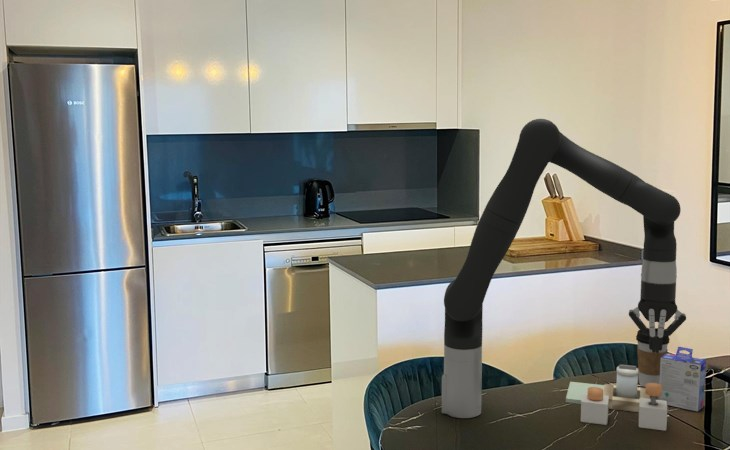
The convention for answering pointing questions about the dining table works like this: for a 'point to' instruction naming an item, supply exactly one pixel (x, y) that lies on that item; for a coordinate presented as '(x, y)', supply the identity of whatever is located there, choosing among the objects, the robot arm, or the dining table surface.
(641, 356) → the coffee cup
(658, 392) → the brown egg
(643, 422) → the plunger posts
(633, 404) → the collar
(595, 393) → the plunger left
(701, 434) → the dining table surface
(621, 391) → the canister
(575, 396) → the mat
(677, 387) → the ink cartridge box
